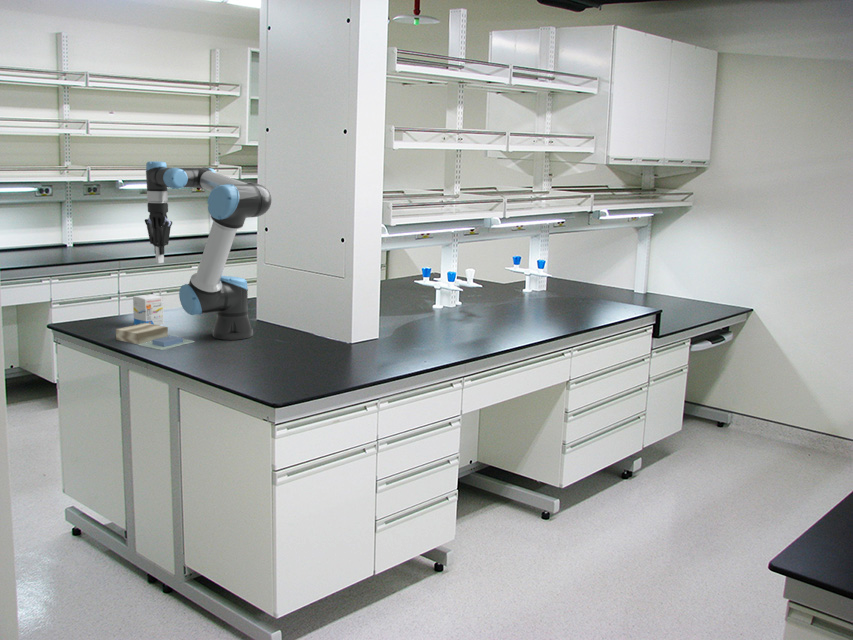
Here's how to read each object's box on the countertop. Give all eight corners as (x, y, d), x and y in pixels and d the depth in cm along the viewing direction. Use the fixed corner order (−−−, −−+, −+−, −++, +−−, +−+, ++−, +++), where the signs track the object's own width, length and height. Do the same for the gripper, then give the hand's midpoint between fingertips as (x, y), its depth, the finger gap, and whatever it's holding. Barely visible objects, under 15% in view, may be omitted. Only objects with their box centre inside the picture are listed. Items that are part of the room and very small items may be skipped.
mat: (194, 341, 302) (194, 341, 302) (161, 350, 289) (161, 349, 289) (171, 337, 308) (171, 336, 308) (138, 345, 294) (138, 344, 294)
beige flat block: (168, 337, 308) (167, 327, 307) (138, 344, 296) (137, 333, 295) (146, 332, 314) (145, 322, 313) (116, 339, 302) (115, 329, 301)
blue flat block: (171, 335, 303) (171, 339, 303) (152, 340, 295) (152, 344, 295) (182, 337, 300) (183, 342, 300) (163, 342, 292) (164, 346, 292)
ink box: (145, 327, 322) (144, 298, 320) (133, 324, 327) (132, 296, 325) (164, 324, 329) (163, 296, 327) (151, 321, 334) (150, 293, 332)
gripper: (177, 202, 311) (179, 263, 316) (153, 200, 318) (155, 260, 322) (161, 203, 305) (164, 265, 310) (138, 201, 311) (140, 262, 316)
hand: (159, 262), depth 316 cm, fingers closed
